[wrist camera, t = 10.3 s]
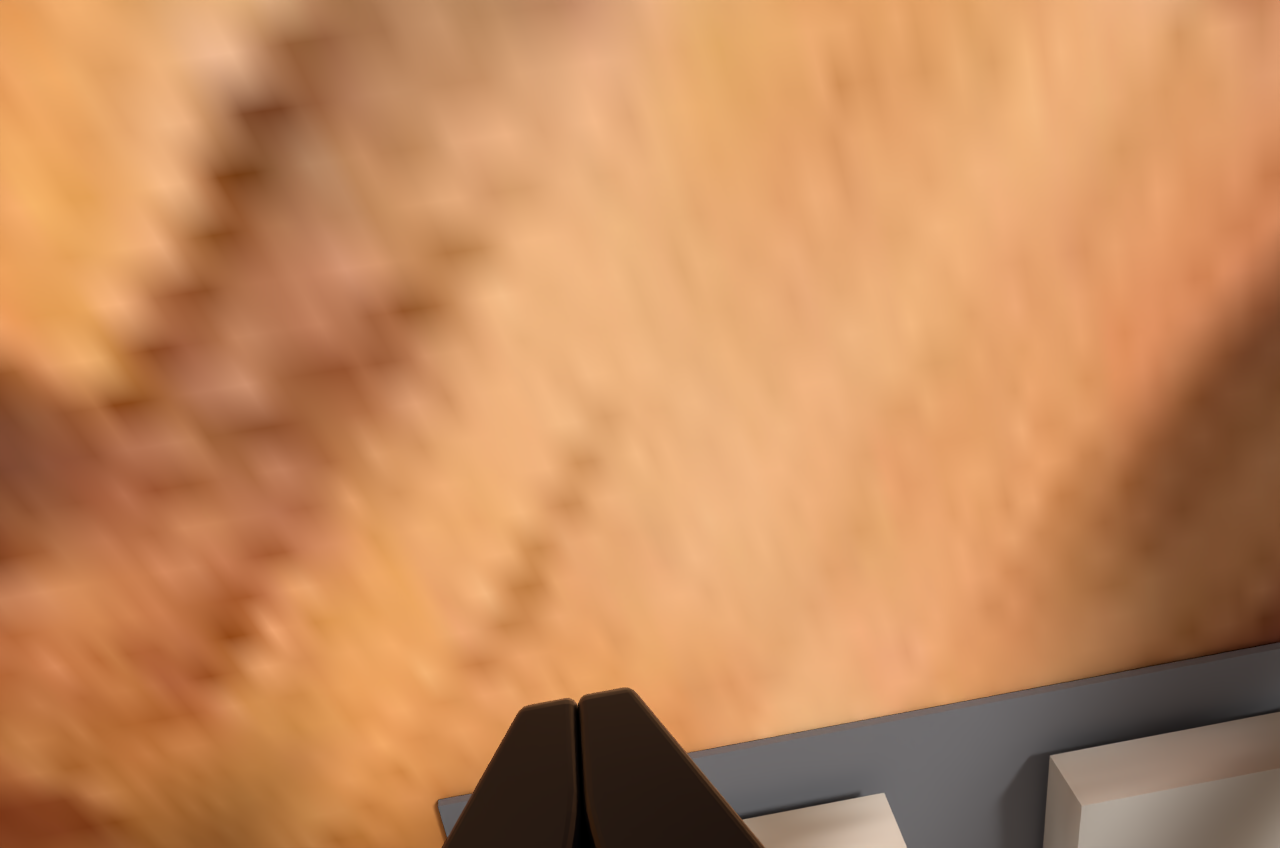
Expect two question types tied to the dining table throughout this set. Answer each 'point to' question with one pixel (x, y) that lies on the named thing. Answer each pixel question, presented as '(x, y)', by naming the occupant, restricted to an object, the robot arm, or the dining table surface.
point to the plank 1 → (831, 826)
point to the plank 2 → (1170, 790)
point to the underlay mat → (980, 749)
